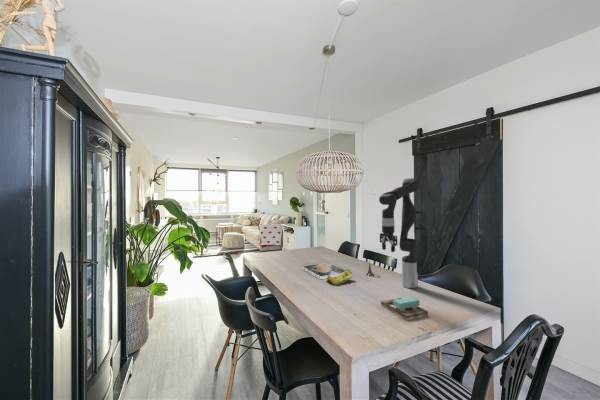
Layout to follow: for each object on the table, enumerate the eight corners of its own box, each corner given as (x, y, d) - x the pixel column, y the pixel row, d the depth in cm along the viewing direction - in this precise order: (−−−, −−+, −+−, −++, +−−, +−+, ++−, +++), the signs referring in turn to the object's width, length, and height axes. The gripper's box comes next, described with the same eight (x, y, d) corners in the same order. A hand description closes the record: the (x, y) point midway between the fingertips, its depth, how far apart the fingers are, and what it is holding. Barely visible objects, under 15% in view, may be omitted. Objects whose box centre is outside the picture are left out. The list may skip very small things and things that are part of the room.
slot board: (400, 301, 158) (400, 297, 158) (427, 315, 139) (427, 311, 139) (381, 305, 153) (381, 301, 153) (406, 320, 134) (406, 315, 134)
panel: (412, 306, 148) (412, 296, 148) (419, 310, 143) (419, 300, 143) (393, 310, 144) (393, 300, 144) (399, 314, 139) (399, 303, 139)
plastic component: (336, 282, 188) (327, 273, 195) (333, 290, 191) (325, 281, 198) (355, 275, 199) (346, 267, 206) (353, 283, 202) (344, 274, 209)
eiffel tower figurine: (381, 277, 207) (381, 260, 207) (370, 279, 204) (370, 261, 204) (370, 272, 221) (370, 256, 221) (360, 274, 218) (359, 257, 218)
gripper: (400, 226, 164) (401, 252, 164) (385, 224, 177) (385, 248, 177) (390, 226, 161) (391, 253, 161) (376, 224, 174) (376, 249, 174)
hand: (388, 250), depth 169 cm, fingers open, 8 cm apart
